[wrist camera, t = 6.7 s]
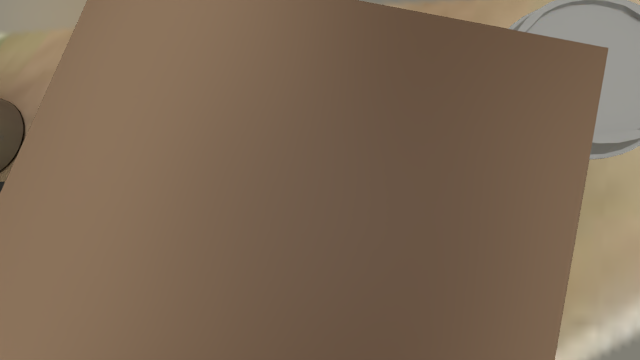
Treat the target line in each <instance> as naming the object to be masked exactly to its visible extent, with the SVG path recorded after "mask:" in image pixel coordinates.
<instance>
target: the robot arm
mask: <svg viewBox="0 0 640 360" xmlns="http://www.w3.org/2000/svg"><path fill="white" fill-rule="evenodd" d="M22 136H23V122H22V117H21V115H20V113H19V111H18V110H17V109H16V107H15V106H14V105H12V104H11V103H9V102H8V101H5V100H3V99H0V170H2V169H3V168H4V167H5V166H7V164H8V163H9V162H10V161H11V160H12V159H13V157H14V156H15V154H16V152H17V151H18V149H19V146H20V144H21V141H22ZM4 183H5V182H0V192H1V190H2V188H3V186H4Z"/></svg>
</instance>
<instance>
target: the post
mask: <svg viewBox="0 0 640 360" xmlns="http://www.w3.org/2000/svg"><path fill="white" fill-rule="evenodd" d="M607 54H608V48H607V47H601V46H596V45H591V44H585V43H580V42H575V41H570V40H564V39H559V38H554V37H548V36H543V35H538V34H533V33H527V32H522V31H517V30H512V29H506V28H501V27H496V26H490V25H485V24H480V23H475V22H469V21H464V20H459V19H454V18H448V17H443V16H438V15H432V14H427V13H422V12H417V11H411V10H406V9H401V8H395V7H390V6H385V5H380V4H374V3H369V2H364V1H359V0H87V2H86V5H85V7H84V9H83V11H82V13H81V16H80V18H79V20H78V22H77V24H76V27H75V29H74V31H73V33H72V35H71V38H70V40H69V42H68V44H67V47H66V49H65V51H64V53H63V55H62V58H61V60H60V62H59V64H58V66H57V69H56V71H55V73H54V75H53V77H52V80H51V82H50V84H49V86H48V88H47V91H46V93H45V95H44V97H43V100H42V102H41V104H40V106H39V108H38V111H37V113H36V115H35V117H34V119H33V122H32V124H31V126H30V128H29V130H28V133H27V135H26V137H25V139H24V142H23V144H22V146H21V148H20V150H19V153H18V155H17V157H16V159H15V161H14V164H13V166H12V168H11V170H10V172H9V175H8V177H7V179H6V181H5V183H4V186H3V188H2V190H1V192H0V360H555V355H556V349H557V343H558V337H559V332H560V326H561V320H562V314H563V309H564V303H565V297H566V291H567V285H568V280H569V274H570V268H571V262H572V256H573V251H574V245H575V239H576V233H577V228H578V222H579V216H580V210H581V204H582V199H583V193H584V187H585V181H586V176H587V170H588V164H589V158H590V152H591V147H592V141H593V135H594V129H595V124H596V118H597V112H598V106H599V100H600V95H601V89H602V83H603V77H604V71H605V66H606V60H607Z"/></svg>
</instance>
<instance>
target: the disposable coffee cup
mask: <svg viewBox="0 0 640 360" xmlns="http://www.w3.org/2000/svg"><path fill="white" fill-rule="evenodd" d="M509 29H512V30H517V31H522V32H527V33H533V34H538V35H543V36H548V37H554V38H559V39H564V40H570V41H575V42H580V43H585V44H591V45H596V46H601V47H607V48H608V54H607V60H606V66H605V71H604V77H603V83H602V89H601V95H600V100H599V106H598V112H597V118H596V124H595V129H594V135H593V141H592V147H591V152H590V158H589V159H602V158H607V157H612V156H616V155H620V154H623V153H626V152H628V151H630V150H633V149H635V148H636V147H638V146H640V5H638V4H636V3H633V2H630V1H628V0H555V1H552V2H550V3H548V4H547V5H545V6H543V7H542V8H540V9H538V10H536V11H534V12H532V13H530V14H528V15H526V16H524V17H522V18H521V19H519V20H518V21H517V22H515V23H514V24H513V25H512V26H511V27H510V28H509Z"/></svg>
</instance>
